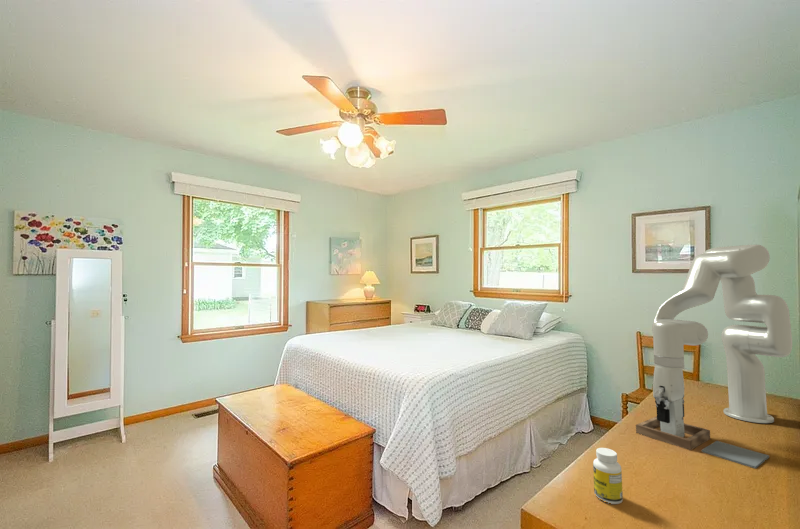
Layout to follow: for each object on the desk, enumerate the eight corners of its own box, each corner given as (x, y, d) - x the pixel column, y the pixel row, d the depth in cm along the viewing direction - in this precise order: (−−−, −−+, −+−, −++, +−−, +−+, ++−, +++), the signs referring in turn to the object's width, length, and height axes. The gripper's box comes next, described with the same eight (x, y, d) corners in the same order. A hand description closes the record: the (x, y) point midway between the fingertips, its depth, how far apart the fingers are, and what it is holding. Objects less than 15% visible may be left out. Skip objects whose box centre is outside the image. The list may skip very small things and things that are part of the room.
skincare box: (677, 441, 107) (675, 399, 108) (659, 435, 111) (657, 395, 112) (685, 436, 110) (683, 395, 111) (668, 431, 114) (666, 392, 115)
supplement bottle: (588, 491, 81) (587, 446, 82) (611, 490, 82) (610, 445, 82) (604, 506, 76) (602, 457, 77) (628, 504, 76) (626, 456, 77)
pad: (716, 442, 106) (716, 440, 106) (769, 457, 97) (769, 455, 97) (701, 451, 100) (701, 449, 100) (755, 468, 91) (755, 466, 91)
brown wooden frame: (657, 423, 120) (657, 416, 120) (710, 438, 108) (709, 430, 109) (636, 433, 113) (635, 424, 113) (690, 450, 101) (690, 441, 101)
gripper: (667, 357, 120) (669, 410, 119) (641, 362, 111) (643, 420, 109) (695, 361, 113) (697, 417, 112) (670, 367, 104) (672, 428, 103)
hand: (670, 418), depth 111 cm, fingers open, 9 cm apart
